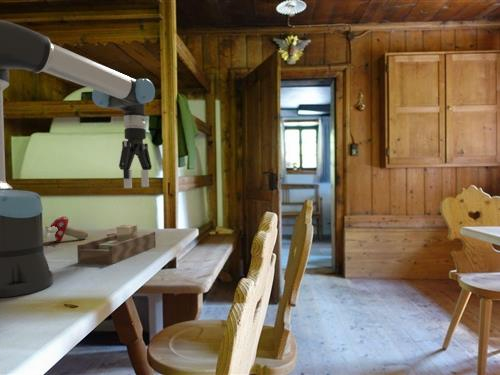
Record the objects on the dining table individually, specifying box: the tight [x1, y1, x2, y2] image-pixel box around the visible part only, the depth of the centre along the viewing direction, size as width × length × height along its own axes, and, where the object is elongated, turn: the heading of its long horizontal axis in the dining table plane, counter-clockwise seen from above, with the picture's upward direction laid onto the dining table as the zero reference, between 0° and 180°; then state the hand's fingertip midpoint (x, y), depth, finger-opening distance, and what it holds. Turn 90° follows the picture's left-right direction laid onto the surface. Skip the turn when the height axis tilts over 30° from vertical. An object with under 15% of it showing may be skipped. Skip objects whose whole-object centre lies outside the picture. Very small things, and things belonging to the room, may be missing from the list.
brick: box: [106, 227, 117, 237], centre depth 155 cm, size 17×8×5 cm, turn 16°
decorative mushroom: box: [49, 215, 89, 243], centre depth 155 cm, size 11×11×15 cm
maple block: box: [115, 224, 139, 241], centre depth 130 cm, size 5×5×5 cm
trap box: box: [76, 231, 157, 265], centre depth 126 cm, size 27×12×6 cm, turn 166°
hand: (137, 187), depth 137 cm, fingers open, 11 cm apart
